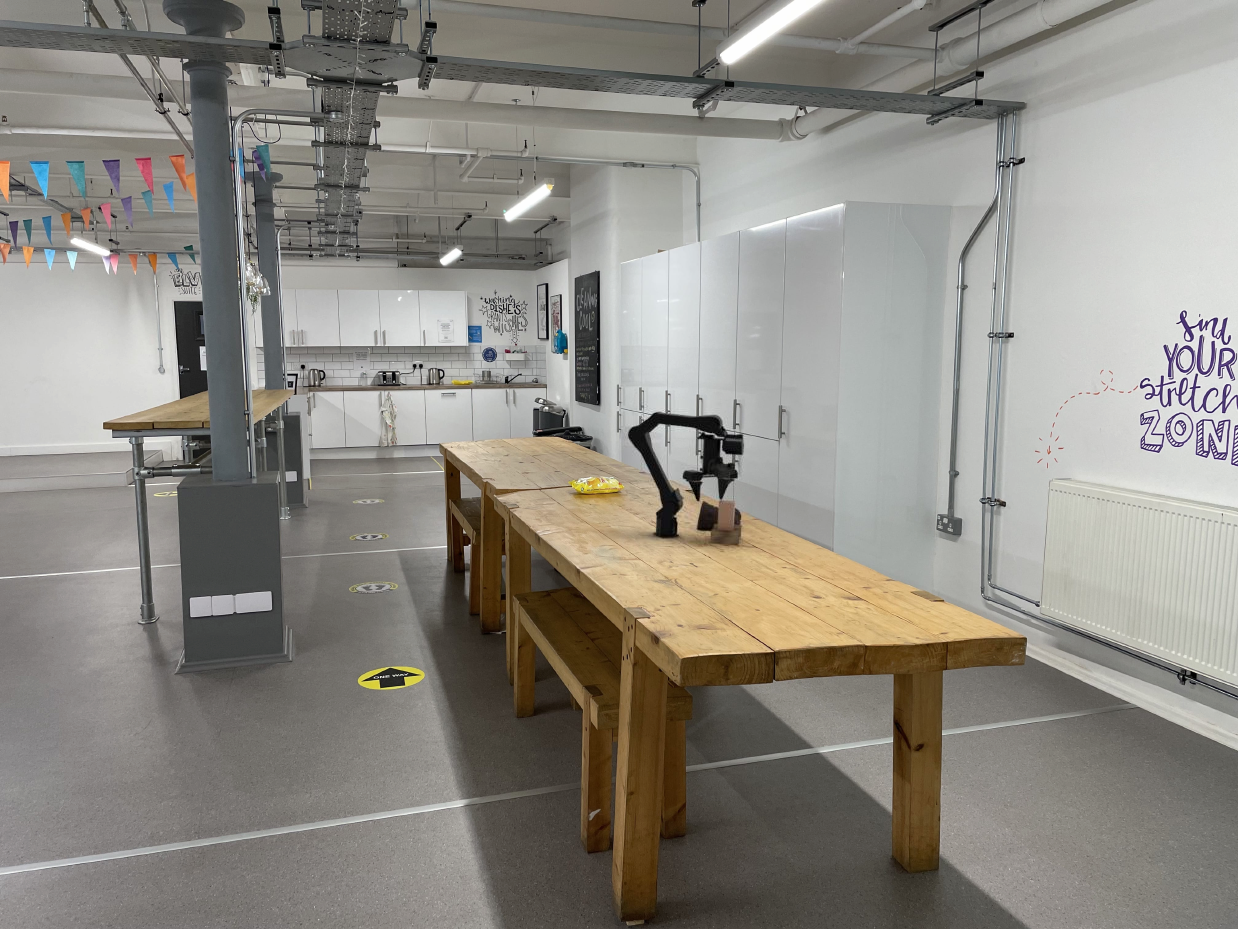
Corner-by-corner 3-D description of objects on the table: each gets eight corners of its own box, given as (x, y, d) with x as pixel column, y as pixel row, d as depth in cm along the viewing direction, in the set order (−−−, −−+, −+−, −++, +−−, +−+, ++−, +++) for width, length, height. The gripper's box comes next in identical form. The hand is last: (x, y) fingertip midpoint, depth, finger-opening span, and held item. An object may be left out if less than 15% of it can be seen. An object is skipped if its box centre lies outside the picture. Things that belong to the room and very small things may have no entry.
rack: (710, 543, 280) (710, 531, 279) (714, 534, 293) (714, 523, 292) (738, 545, 278) (738, 533, 278) (740, 536, 291) (741, 525, 290)
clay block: (717, 538, 284) (718, 502, 282) (718, 535, 288) (719, 500, 286) (732, 539, 283) (734, 503, 281) (733, 536, 287) (735, 501, 285)
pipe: (744, 504, 311) (703, 495, 312) (745, 514, 296) (702, 505, 297) (737, 529, 313) (697, 520, 314) (738, 541, 298) (696, 531, 299)
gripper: (702, 457, 270) (700, 506, 273) (749, 455, 280) (747, 502, 282) (682, 453, 280) (680, 500, 282) (728, 451, 289) (726, 497, 291)
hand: (709, 500), depth 284 cm, fingers open, 9 cm apart
